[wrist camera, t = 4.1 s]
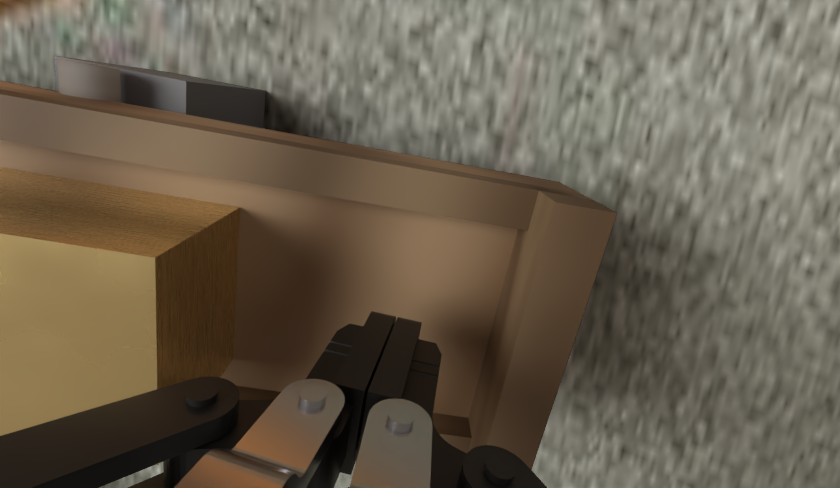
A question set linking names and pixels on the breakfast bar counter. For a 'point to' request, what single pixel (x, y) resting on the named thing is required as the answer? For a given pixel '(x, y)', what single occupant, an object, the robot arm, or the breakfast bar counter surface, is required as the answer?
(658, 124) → the breakfast bar counter surface
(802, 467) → the breakfast bar counter surface
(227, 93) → the trestle
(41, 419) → the block
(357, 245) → the seesaw beam
